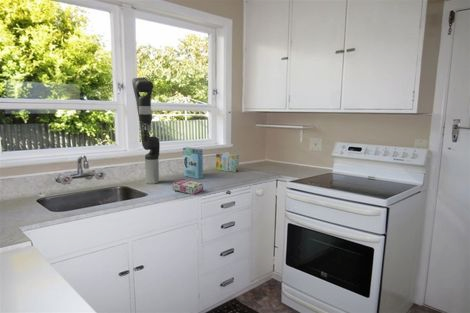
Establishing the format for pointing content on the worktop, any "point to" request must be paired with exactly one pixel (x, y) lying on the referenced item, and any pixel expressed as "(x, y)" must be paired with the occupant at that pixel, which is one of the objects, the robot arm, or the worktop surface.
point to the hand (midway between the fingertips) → (146, 141)
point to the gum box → (193, 162)
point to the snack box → (227, 162)
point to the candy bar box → (188, 186)
